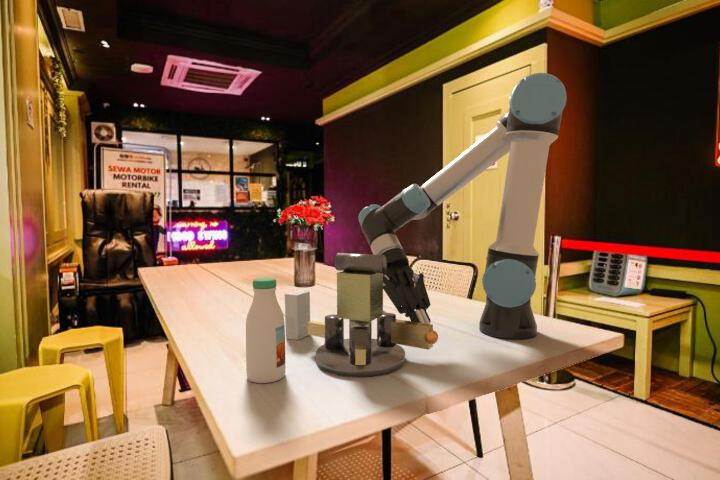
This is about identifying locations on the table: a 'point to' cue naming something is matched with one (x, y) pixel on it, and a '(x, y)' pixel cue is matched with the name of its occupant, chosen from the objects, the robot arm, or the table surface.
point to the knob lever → (404, 333)
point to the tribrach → (356, 321)
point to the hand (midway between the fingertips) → (428, 336)
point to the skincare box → (297, 314)
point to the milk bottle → (265, 334)
